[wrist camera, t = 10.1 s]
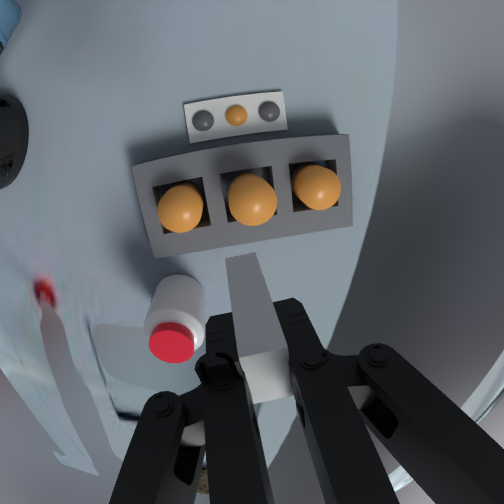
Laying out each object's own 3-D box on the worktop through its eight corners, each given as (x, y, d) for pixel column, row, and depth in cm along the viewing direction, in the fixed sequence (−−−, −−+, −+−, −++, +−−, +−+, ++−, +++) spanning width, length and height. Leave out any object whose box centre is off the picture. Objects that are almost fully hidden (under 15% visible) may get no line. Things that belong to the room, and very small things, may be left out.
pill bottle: (191, 324, 42) (187, 376, 32) (147, 303, 40) (131, 353, 30) (215, 289, 40) (215, 339, 30) (168, 264, 38) (153, 311, 28)
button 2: (169, 223, 35) (163, 236, 31) (160, 186, 33) (152, 194, 29) (207, 216, 35) (205, 228, 31) (200, 178, 33) (197, 185, 29)
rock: (230, 488, 67) (224, 496, 59) (195, 488, 68) (186, 495, 59) (227, 462, 73) (220, 467, 65) (191, 462, 73) (182, 466, 65)
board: (159, 249, 37) (154, 259, 34) (138, 163, 32) (131, 166, 29) (343, 218, 38) (352, 225, 35) (339, 133, 33) (348, 134, 30)
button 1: (292, 203, 35) (301, 213, 31) (288, 165, 33) (298, 170, 29) (328, 198, 36) (341, 207, 32) (325, 161, 34) (339, 165, 29)
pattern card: (190, 143, 32) (189, 143, 31) (184, 105, 29) (183, 104, 29) (287, 129, 32) (288, 129, 32) (281, 91, 30) (282, 91, 29)
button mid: (231, 216, 33) (232, 229, 29) (224, 176, 31) (225, 183, 27) (271, 210, 34) (279, 221, 30) (267, 170, 32) (274, 175, 27)
